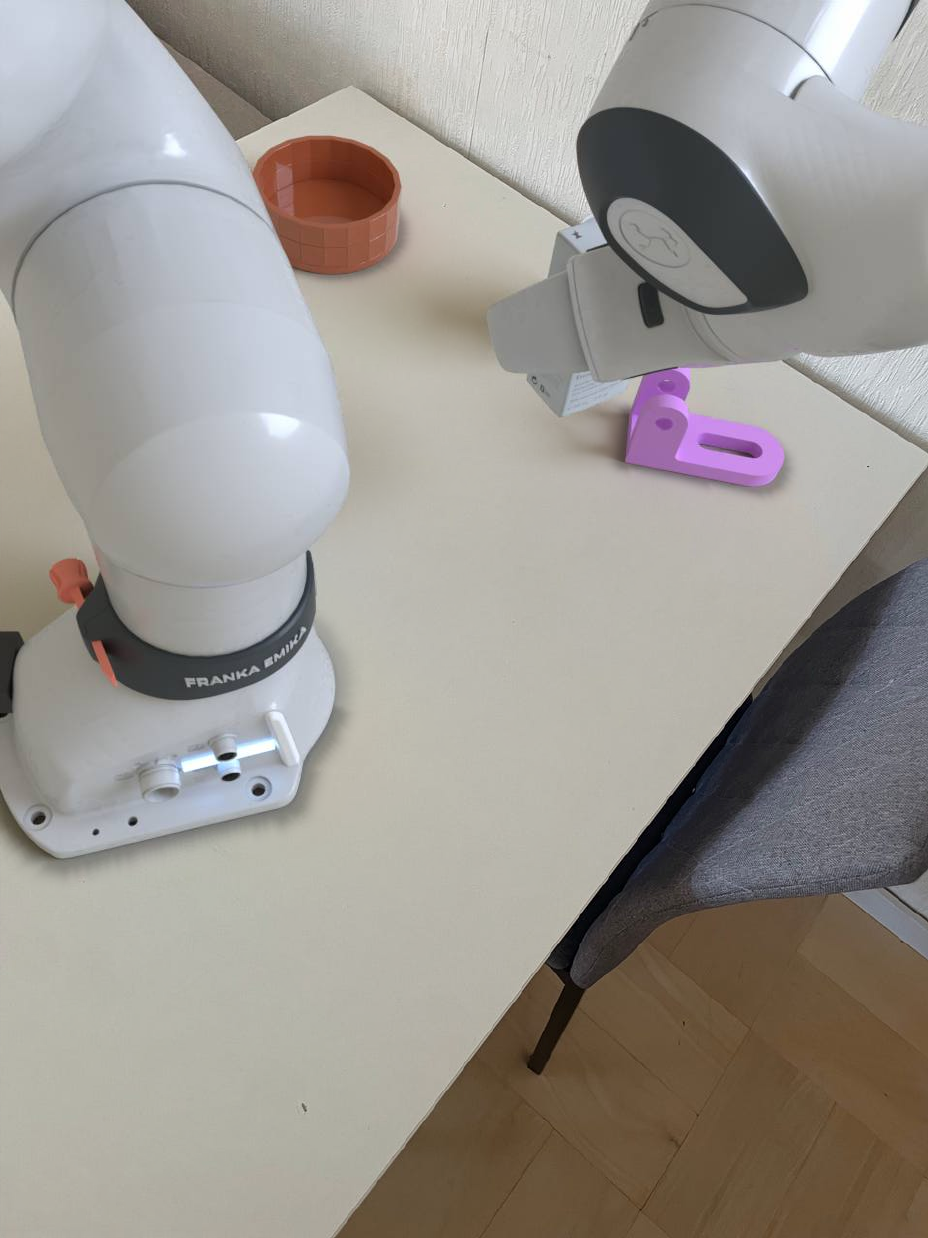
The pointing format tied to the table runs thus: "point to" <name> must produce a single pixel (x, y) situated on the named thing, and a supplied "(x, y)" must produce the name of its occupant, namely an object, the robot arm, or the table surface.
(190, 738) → the robot arm
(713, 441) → the bracket
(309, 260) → the bowl
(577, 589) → the table surface
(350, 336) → the table surface
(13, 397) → the table surface
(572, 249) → the cosmetic box
